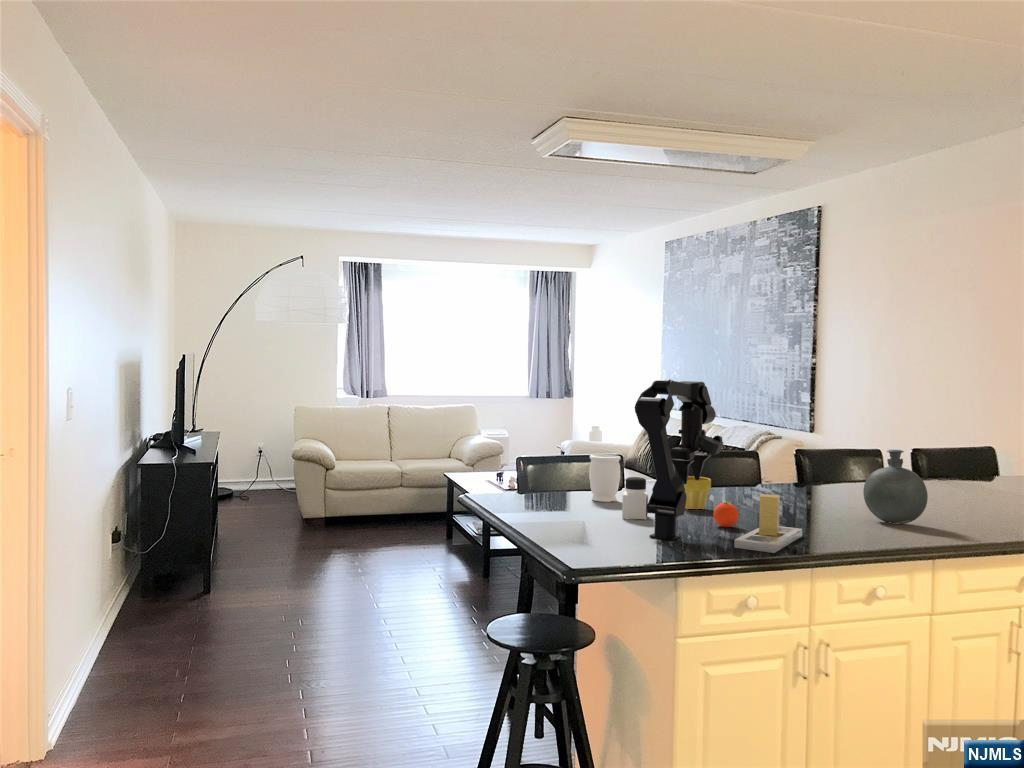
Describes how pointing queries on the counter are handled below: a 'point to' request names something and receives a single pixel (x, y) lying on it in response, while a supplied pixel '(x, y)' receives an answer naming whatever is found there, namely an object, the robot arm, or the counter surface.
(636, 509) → the medicine bottle
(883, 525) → the counter surface
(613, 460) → the jar
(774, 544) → the white compartment tray
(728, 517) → the tomato
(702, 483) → the plant pot
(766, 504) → the yellow tall block
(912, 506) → the flask
